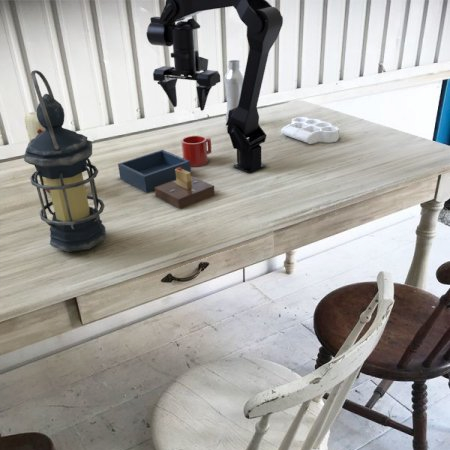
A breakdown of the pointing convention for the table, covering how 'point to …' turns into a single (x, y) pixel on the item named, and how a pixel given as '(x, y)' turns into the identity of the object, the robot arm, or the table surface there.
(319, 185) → the table surface
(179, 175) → the tap knob
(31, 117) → the food model
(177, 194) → the panel
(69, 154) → the lantern
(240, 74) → the plastic bottle
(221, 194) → the table surface
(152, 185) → the dark blue tray
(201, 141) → the mug
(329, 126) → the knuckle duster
